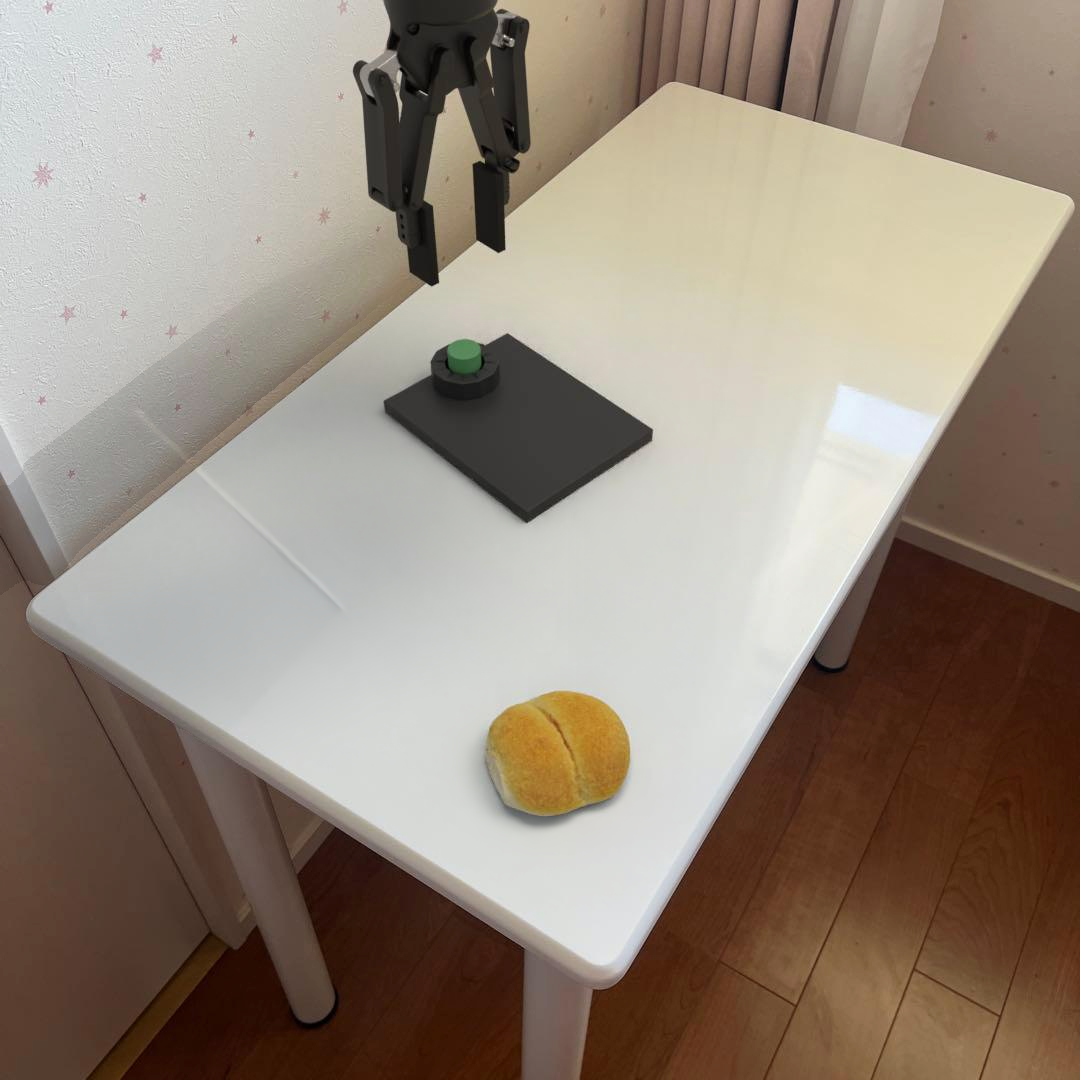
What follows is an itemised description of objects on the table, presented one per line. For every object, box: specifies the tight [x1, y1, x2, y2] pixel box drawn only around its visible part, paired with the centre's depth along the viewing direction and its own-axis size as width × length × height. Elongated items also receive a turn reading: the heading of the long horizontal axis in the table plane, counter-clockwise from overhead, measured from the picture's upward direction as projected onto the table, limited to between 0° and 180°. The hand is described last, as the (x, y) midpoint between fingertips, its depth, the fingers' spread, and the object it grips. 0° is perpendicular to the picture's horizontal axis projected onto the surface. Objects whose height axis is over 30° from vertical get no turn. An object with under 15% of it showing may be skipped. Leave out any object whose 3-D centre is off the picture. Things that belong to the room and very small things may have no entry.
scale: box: [383, 332, 654, 523], centre depth 91 cm, size 18×14×3 cm
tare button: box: [447, 338, 481, 375], centre depth 93 cm, size 3×3×2 cm
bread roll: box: [483, 690, 631, 817], centre depth 69 cm, size 8×9×4 cm
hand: (458, 260), depth 86 cm, fingers open, 6 cm apart
